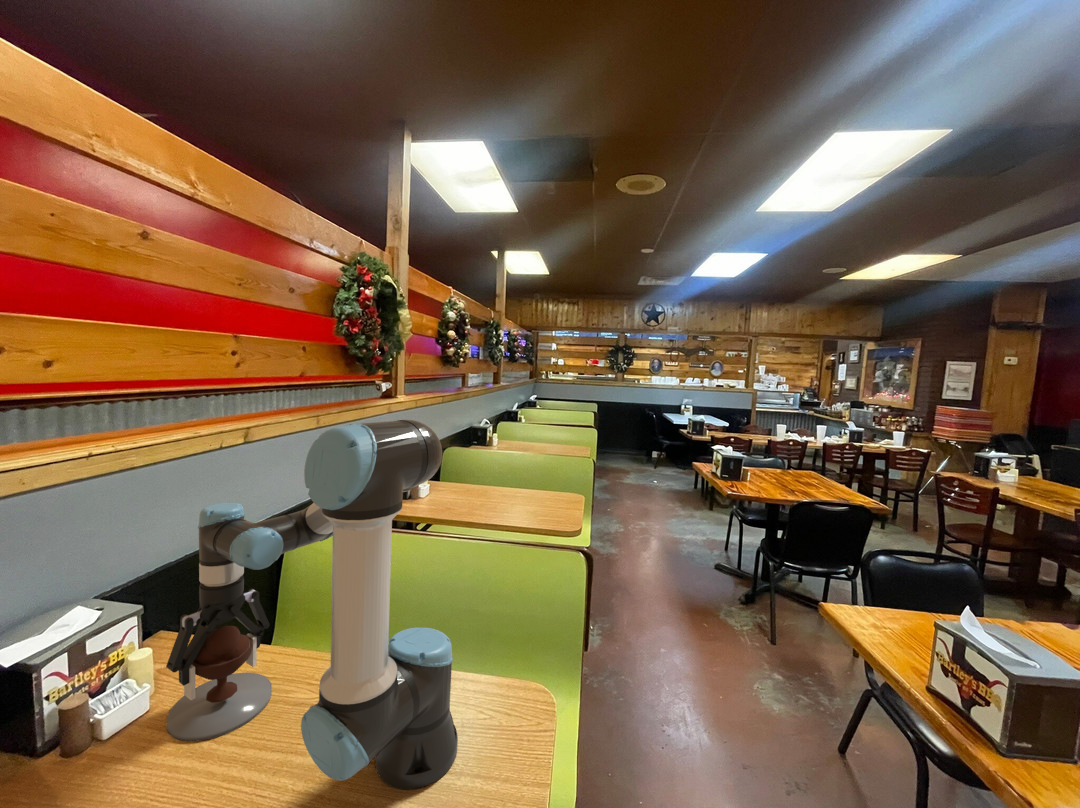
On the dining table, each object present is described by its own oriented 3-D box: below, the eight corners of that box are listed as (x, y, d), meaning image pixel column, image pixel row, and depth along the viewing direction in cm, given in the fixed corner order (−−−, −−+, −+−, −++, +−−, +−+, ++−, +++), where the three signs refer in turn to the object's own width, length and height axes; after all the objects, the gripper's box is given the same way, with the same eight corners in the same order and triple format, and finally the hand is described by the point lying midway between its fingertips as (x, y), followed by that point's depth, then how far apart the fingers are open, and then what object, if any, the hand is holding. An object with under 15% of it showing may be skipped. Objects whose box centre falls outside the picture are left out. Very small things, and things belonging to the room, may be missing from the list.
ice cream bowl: (263, 676, 99) (264, 611, 98) (227, 714, 88) (227, 642, 87) (217, 673, 99) (216, 609, 98) (175, 711, 88) (174, 639, 87)
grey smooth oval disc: (289, 696, 97) (289, 691, 97) (194, 756, 81) (194, 751, 81) (243, 666, 106) (243, 662, 106) (149, 716, 90) (149, 711, 90)
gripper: (268, 555, 103) (268, 644, 105) (142, 597, 83) (144, 707, 84) (288, 563, 100) (287, 655, 101) (161, 609, 79) (162, 724, 81)
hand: (222, 679), depth 93 cm, fingers closed on ice cream bowl, 11 cm apart
